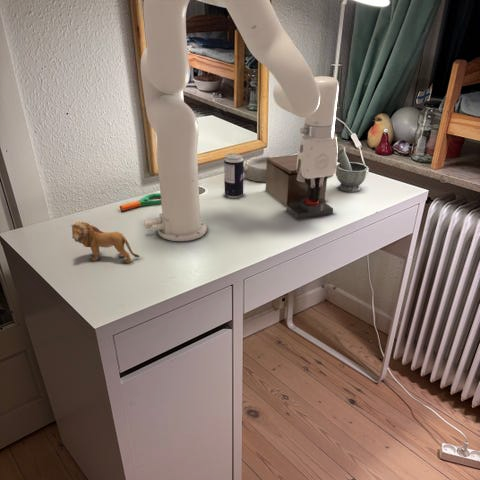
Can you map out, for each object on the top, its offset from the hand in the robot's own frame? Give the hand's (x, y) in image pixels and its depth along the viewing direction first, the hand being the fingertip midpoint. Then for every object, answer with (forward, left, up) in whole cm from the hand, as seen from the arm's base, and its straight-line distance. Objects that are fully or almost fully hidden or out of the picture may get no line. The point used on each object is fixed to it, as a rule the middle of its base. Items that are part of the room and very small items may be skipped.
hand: (313, 199), depth 134 cm
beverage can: (-15, +21, -4) cm, 26 cm away
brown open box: (+2, +14, -4) cm, 15 cm away
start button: (0, 0, -2) cm, 2 cm away
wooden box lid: (+2, +14, +6) cm, 15 cm away
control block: (0, +1, -4) cm, 4 cm away
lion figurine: (-58, -6, -4) cm, 59 cm away
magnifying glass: (-42, +24, -4) cm, 49 cm away
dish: (+1, +34, -4) cm, 34 cm away
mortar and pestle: (+21, +14, -4) cm, 25 cm away
